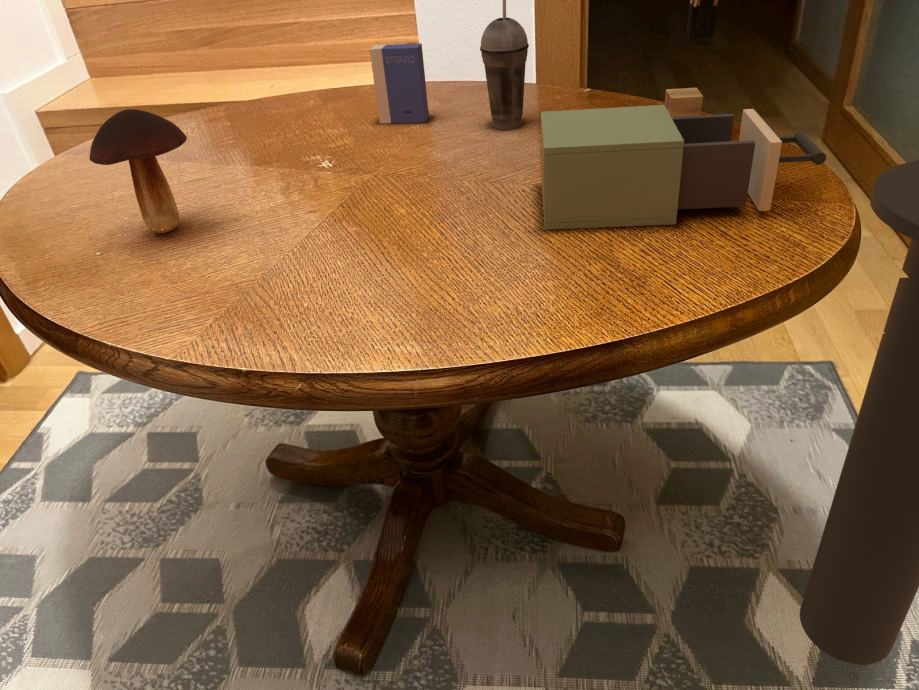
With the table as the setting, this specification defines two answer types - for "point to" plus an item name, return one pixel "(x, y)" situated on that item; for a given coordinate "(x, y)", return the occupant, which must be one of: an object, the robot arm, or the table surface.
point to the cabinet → (610, 167)
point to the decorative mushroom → (142, 160)
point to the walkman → (400, 83)
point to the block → (683, 102)
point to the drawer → (733, 160)
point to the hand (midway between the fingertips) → (699, 36)
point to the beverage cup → (505, 69)
